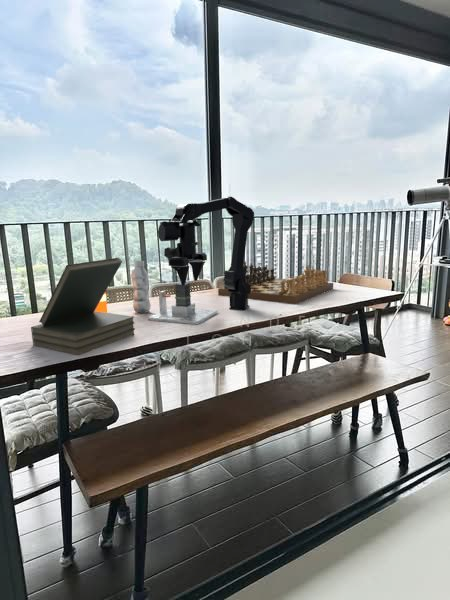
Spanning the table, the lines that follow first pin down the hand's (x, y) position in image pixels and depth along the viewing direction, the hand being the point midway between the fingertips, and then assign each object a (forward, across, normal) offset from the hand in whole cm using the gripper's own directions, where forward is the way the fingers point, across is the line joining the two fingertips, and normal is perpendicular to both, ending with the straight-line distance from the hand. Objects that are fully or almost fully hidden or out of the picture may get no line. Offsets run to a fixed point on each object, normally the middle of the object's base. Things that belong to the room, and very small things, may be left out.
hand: (189, 282), depth 153 cm
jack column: (+9, 0, -3) cm, 9 cm away
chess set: (+14, -57, +16) cm, 60 cm away
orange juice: (+13, +11, -37) cm, 40 cm away
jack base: (+13, 0, -3) cm, 13 cm away
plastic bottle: (+13, 0, -22) cm, 26 cm away
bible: (+13, +37, -17) cm, 43 cm away
